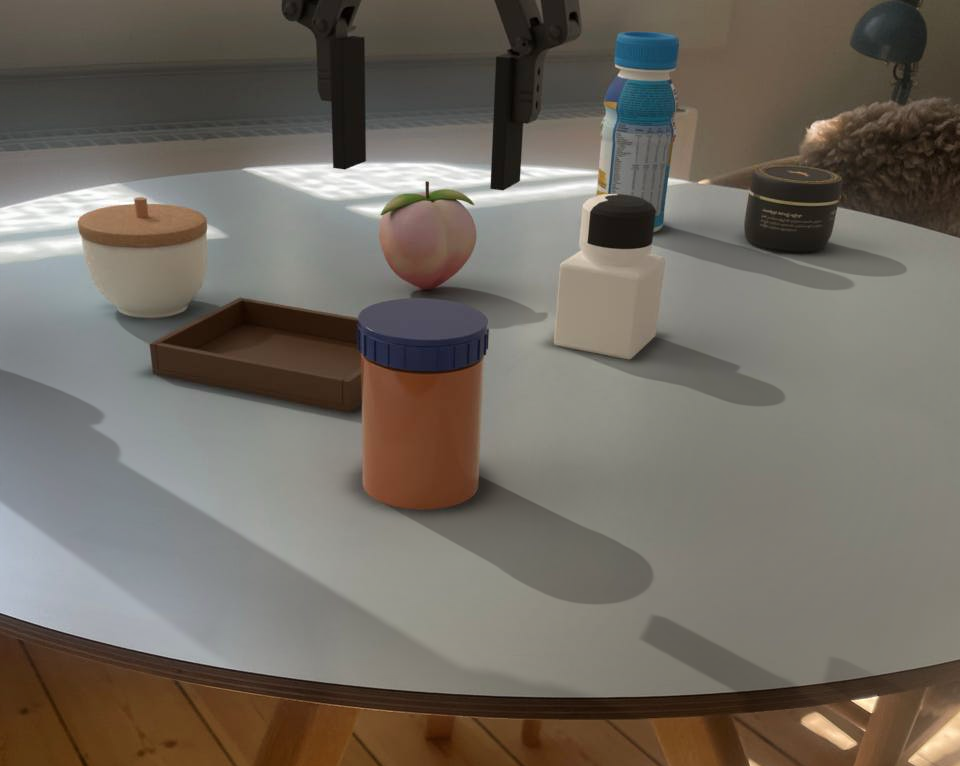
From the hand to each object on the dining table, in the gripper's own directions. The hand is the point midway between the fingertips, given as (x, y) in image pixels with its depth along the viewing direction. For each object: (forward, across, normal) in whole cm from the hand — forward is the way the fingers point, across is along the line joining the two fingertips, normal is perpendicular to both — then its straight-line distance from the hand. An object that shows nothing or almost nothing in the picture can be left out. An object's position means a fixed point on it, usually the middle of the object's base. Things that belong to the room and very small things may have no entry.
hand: (425, 174), depth 66 cm
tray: (+19, -18, +15) cm, 30 cm away
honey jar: (+19, 0, 0) cm, 19 cm away
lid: (+9, 0, 0) cm, 9 cm away
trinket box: (+19, -36, +22) cm, 47 cm away
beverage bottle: (+20, -6, +73) cm, 76 cm away
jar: (+20, +12, +75) cm, 78 cm away
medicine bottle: (+20, +3, +33) cm, 38 cm away
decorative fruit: (+20, -17, +39) cm, 47 cm away
